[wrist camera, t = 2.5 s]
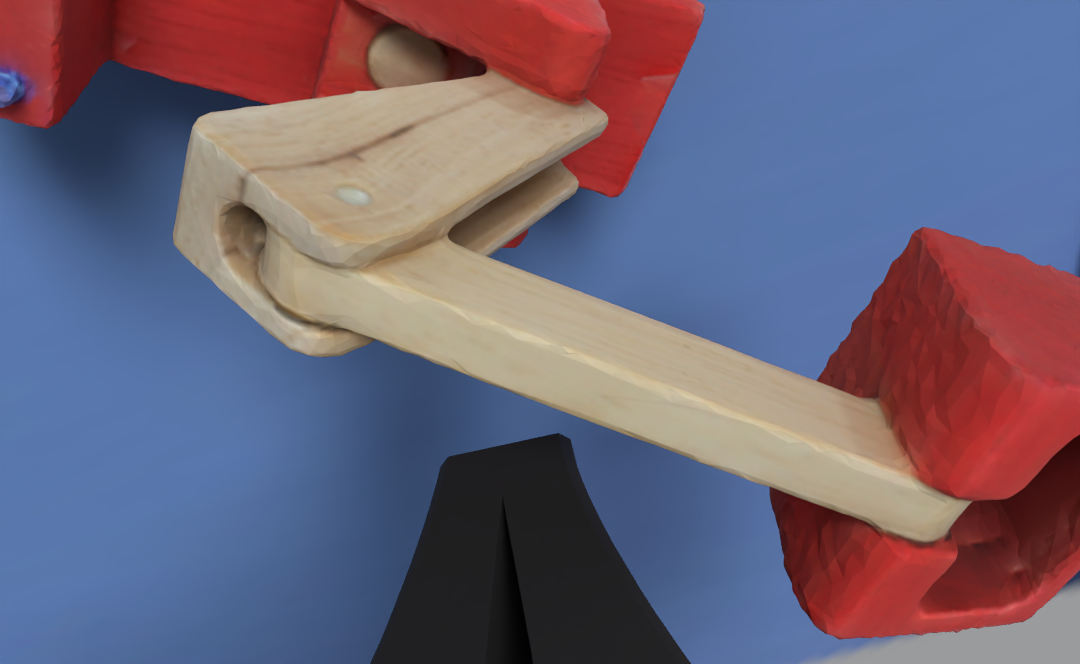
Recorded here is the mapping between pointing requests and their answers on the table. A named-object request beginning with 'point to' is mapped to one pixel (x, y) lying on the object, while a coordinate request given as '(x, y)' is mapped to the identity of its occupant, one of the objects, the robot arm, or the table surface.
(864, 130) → the table surface
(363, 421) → the table surface
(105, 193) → the table surface
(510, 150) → the toy fire truck
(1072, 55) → the table surface
